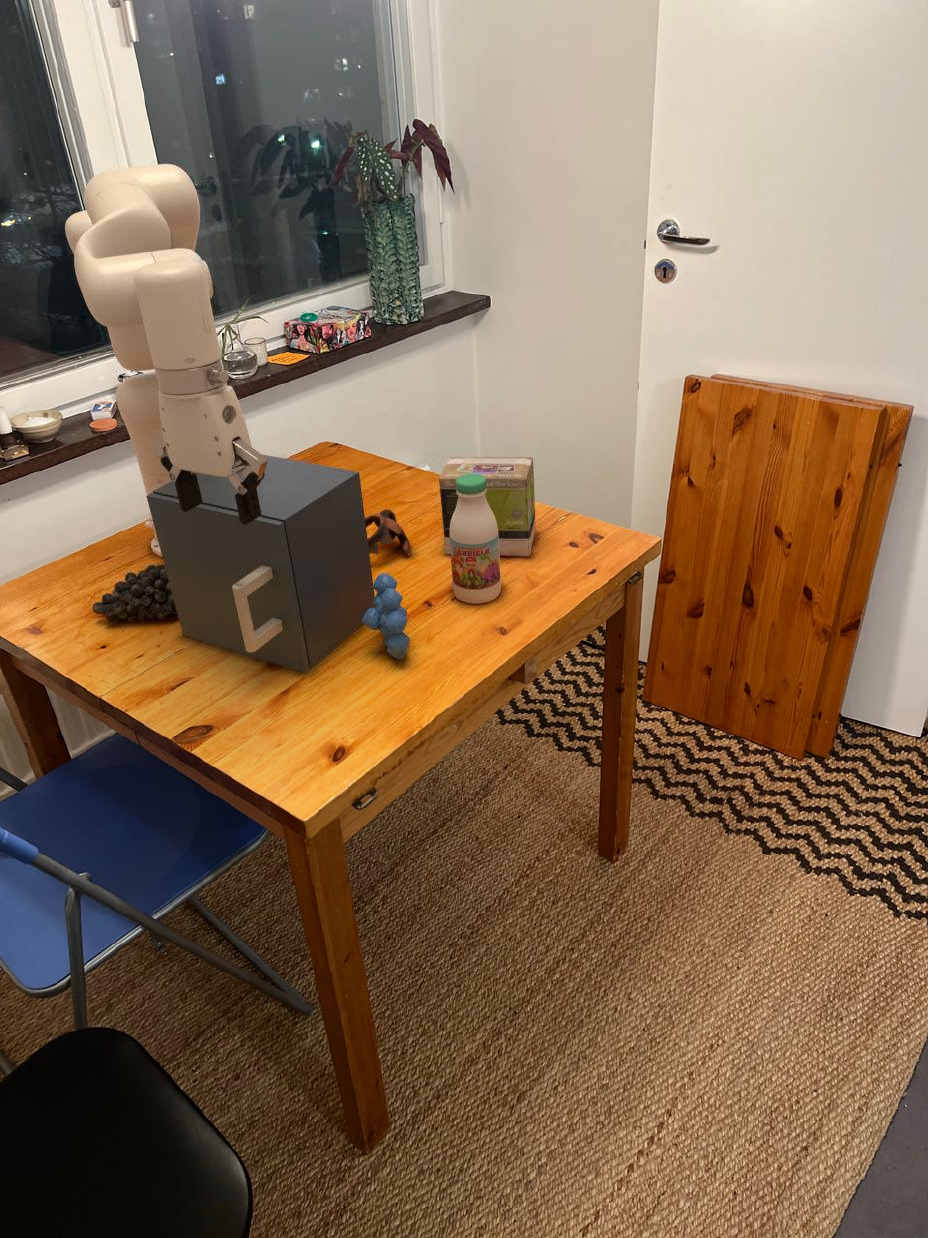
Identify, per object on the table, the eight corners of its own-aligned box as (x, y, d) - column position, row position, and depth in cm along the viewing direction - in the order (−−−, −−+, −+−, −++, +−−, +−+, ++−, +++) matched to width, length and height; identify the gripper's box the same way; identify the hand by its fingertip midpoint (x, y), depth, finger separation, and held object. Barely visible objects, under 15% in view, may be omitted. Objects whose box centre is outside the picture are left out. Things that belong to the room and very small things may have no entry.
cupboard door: (276, 699, 126) (244, 546, 113) (151, 658, 137) (110, 514, 124) (310, 670, 131) (283, 521, 119) (187, 632, 142) (151, 492, 129)
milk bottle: (451, 583, 151) (443, 470, 140) (498, 579, 151) (493, 466, 140) (455, 607, 144) (446, 491, 134) (503, 602, 145) (499, 486, 134)
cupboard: (311, 670, 132) (284, 519, 119) (188, 632, 142) (152, 491, 130) (377, 613, 144) (359, 471, 131) (259, 582, 155) (232, 448, 142)
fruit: (77, 580, 140) (177, 564, 141) (90, 571, 148) (185, 556, 149) (91, 634, 142) (189, 618, 143) (103, 622, 150) (196, 607, 151)
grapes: (359, 634, 139) (349, 565, 133) (402, 626, 140) (394, 557, 134) (374, 676, 129) (364, 604, 123) (420, 666, 131) (413, 594, 124)
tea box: (536, 532, 165) (534, 455, 157) (529, 558, 156) (528, 478, 148) (454, 529, 167) (449, 453, 159) (443, 555, 159) (437, 477, 151)
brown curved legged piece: (413, 567, 157) (385, 536, 152) (368, 585, 161) (340, 555, 156) (419, 521, 165) (393, 490, 160) (376, 539, 169) (350, 509, 164)
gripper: (271, 374, 103) (295, 512, 112) (160, 361, 111) (191, 491, 120) (226, 394, 98) (255, 538, 107) (113, 379, 105) (149, 514, 114)
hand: (221, 513), depth 113 cm, fingers open, 9 cm apart
